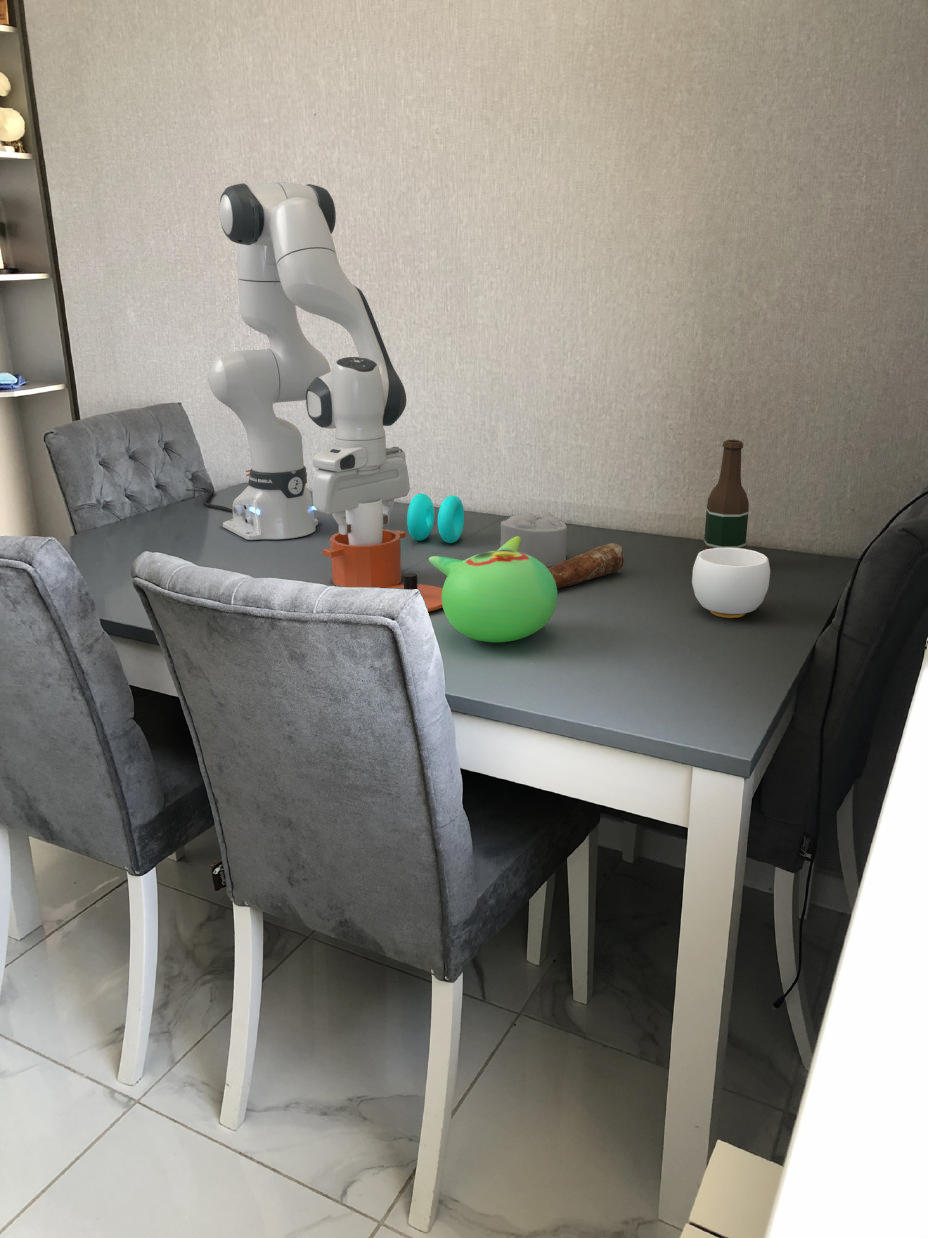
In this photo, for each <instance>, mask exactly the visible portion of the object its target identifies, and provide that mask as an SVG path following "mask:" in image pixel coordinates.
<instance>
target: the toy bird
mask: <svg viewBox="0 0 928 1238" xmlns="http://www.w3.org/2000/svg"><path fill="white" fill-rule="evenodd" d="M520 542H521V538H520V537H519V536H516V537H514V538H512V539H510V540H509V541H508V542H506V543H505V544H504V545H503V546H502V547H501V546H500V547H499V548H497V550H490V551H485V552H481V553H478V554H475V555H472V556H470V557H468V558H465V559H457V558H452V557H447V556H440V555H432V556H430V557H428V562H429V563H430V565H432V566H433V567H435V568H436V569H437V570H438V571H440V572H441V573H442V574H444V575H445V576H446V578H445V581H444V583H443V586H442V589H443V590H442V605H443V607H442V609H443V613H444V615H445V616H446V619H447V620H448V622H449V623H450V625H451V626H452V627H453V628H454V629H455V630H456V631H458V633H460V634H462V635H463V636H465V637H467V638H469V639H471V640H475V641H479V642H483V643H508V642H513V641H518V640H521V639H524V638H526V637H527V638H528V637H529V636H532V635H533V634H535V633H536V632H538V631H539V630H542V629H543V627H545V625H547V623H548V622H549V621H550V620H551V618H552V617H553V615H554V613H555V610H556V607H557V604H558V589H557V587H556V583H555V580H554V578H553V576H552V574H551V572H550V571H549V570H548V568H549V567H546V566H545V565H544V564H543V563H541V562H540V561H539V560H537V559H536V558H534V557H532V556H530V555H527V554H524V553H520V552H518V548H519V545H520Z"/></svg>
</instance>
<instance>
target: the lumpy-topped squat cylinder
mask: <svg viewBox="0 0 928 1238" xmlns="http://www.w3.org/2000/svg"><path fill="white" fill-rule="evenodd" d="M567 534H568V527H567V524H566V523H565V522H563V521H562V520H559V519H558V518H557V517H555V516H554V515H553V514H552V512H548V511H541V513H539V514H538V515H535V514H534V513H531V512H529V511H524V512H521V513H519V514H515V515H512V516H510V517H508V518H507V519H505V520H502V521H501V522H500V547H502V546H503V545H504V544H505V543H506V542H508V541H509V540H510V539H512V538H514V537H516V536H519V537H520V538H521V542H520V545H519V548H518V552H520V553H524V554H527V555H530V556H532V557H534V558H536V559H537V560H539V561H540V562H541V563H543V564H544V565H545V566H546V567H547V568H550V567H552V566H554V565H556V564H559V563H561V562H564V561H566V560H567V539H568V535H567Z"/></svg>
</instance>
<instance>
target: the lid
mask: <svg viewBox="0 0 928 1238" xmlns="http://www.w3.org/2000/svg"><path fill="white" fill-rule="evenodd" d="M402 576H403V577H402V578H403V579H402V580H403V581H402V582H403V583H402V584H398V585H397V586H392V587H387V588H404V589H419V590H420V591H421V594H422V596H423V598H424V601H425V602H426V606H427V607H428V612H432V611H436V610H439V609H441V608H442V609H443V605H442V590H443V587H439V586H436V585H429V584H422V583H421V584H420V583H419V584H418V573H416V572H405V573H403V575H402Z"/></svg>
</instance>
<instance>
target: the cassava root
mask: <svg viewBox="0 0 928 1238" xmlns="http://www.w3.org/2000/svg"><path fill="white" fill-rule="evenodd" d="M623 553H624V548H623V546H622V545H620V544H617V543H614V542H610V543H606V544H604V545H600V546H598V547H595V548H592V549H589V550H587V551H585V552H582V553H579V554H578V555H575V556H573V557H571V558H569V559H566V561H564V562H561V563H559V564H556V565H554V566H551V567H547V568H548V570H549V571H550V572H551V574H552V576H553V578H554V580H555V583H556V587H557V590H558V589H561V588H564V587H565V588H566V587H569V586H574V585H577V584H580V583H583V582H585V581H590V580H592V579H593V580H594V579H597V578H600V577H604V576H607V575H612V574H613V573H616V572H618V571H620V570H622V569H623V567H624V563H625V560H624V556H623Z"/></svg>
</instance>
